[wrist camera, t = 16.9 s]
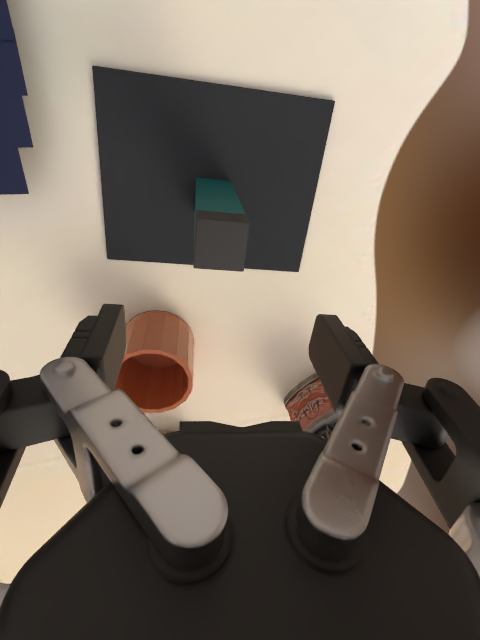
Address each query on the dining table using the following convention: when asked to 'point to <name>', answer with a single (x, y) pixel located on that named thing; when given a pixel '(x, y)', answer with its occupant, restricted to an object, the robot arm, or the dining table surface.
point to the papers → (11, 110)
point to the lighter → (312, 407)
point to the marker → (219, 226)
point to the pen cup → (157, 361)
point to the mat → (205, 163)
